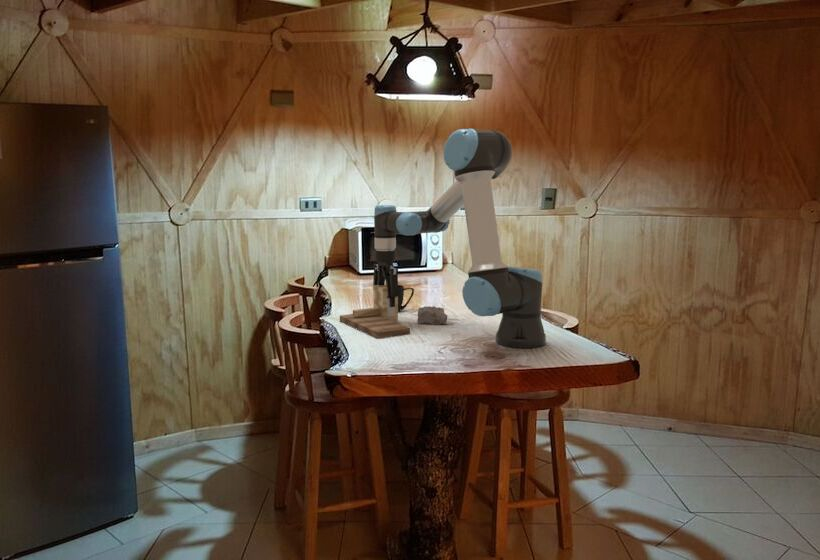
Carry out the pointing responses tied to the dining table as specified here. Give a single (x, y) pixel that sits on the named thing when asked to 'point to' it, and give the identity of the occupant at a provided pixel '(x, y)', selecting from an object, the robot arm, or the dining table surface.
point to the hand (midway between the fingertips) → (385, 313)
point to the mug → (400, 297)
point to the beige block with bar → (379, 304)
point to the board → (375, 325)
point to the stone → (431, 315)
